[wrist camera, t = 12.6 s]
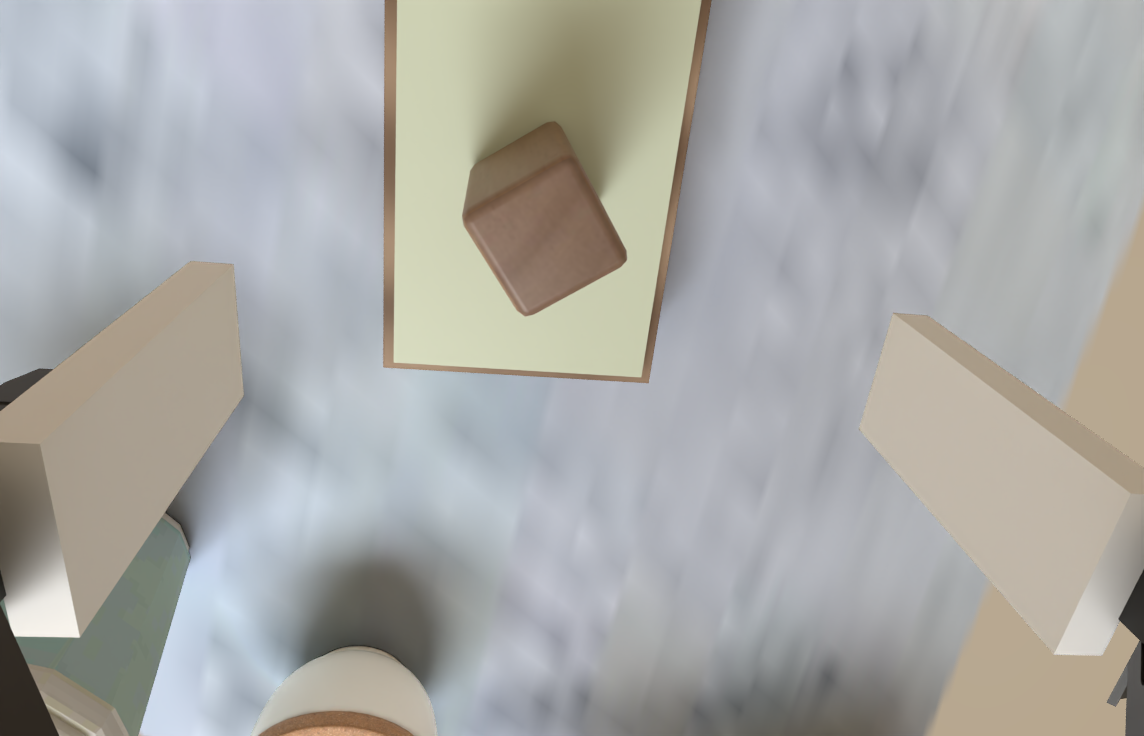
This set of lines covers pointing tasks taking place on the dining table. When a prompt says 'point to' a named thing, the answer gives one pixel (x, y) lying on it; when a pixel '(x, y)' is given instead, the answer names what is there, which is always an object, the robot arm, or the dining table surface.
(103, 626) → the disposable coffee cup
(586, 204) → the wooden block
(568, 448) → the dining table surface
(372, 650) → the lidded jar
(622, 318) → the walnut stand
